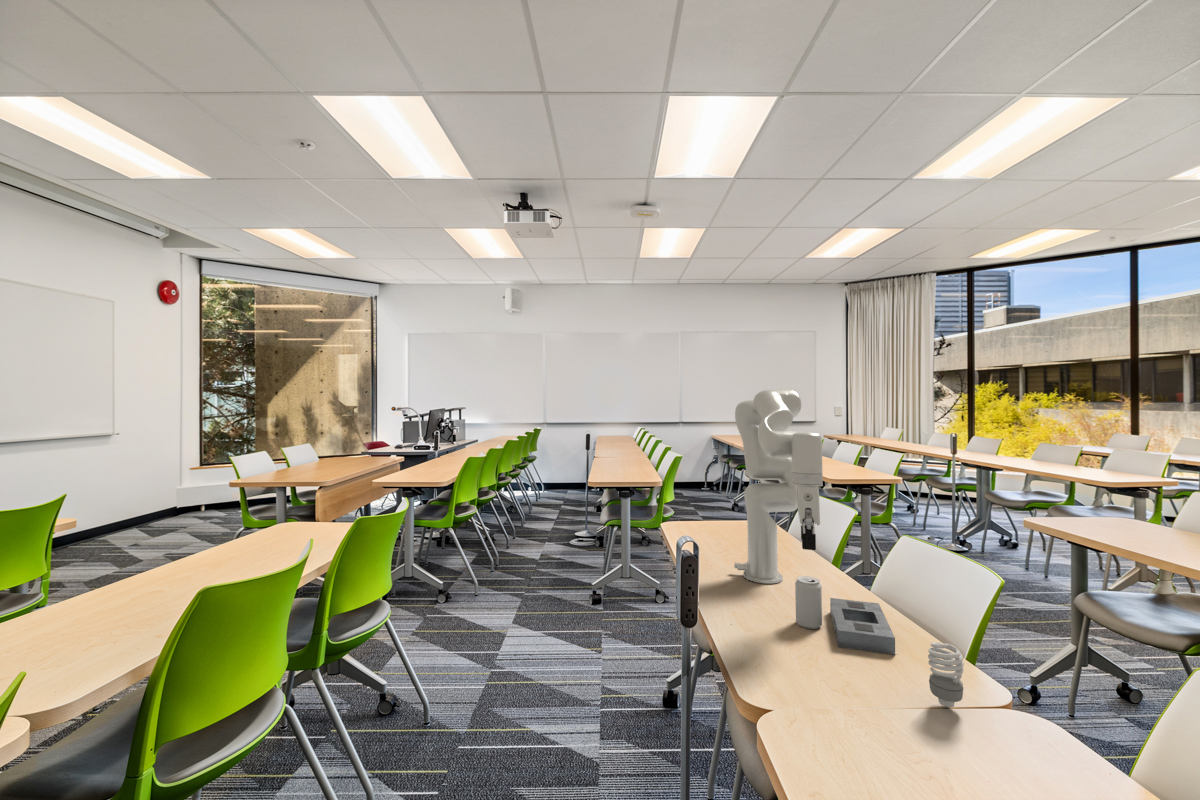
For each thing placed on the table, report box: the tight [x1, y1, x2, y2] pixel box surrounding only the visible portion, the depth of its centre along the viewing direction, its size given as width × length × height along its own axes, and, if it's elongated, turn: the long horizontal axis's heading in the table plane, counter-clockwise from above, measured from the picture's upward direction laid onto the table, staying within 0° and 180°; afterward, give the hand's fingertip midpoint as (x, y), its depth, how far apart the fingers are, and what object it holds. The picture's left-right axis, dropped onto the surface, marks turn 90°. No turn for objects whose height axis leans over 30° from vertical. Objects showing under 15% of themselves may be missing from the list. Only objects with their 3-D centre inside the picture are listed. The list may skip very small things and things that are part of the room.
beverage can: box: [794, 575, 823, 630], centre depth 134 cm, size 6×6×12 cm
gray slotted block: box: [829, 597, 896, 656], centre depth 129 cm, size 12×22×4 cm, turn 160°
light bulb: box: [927, 641, 965, 709], centre depth 97 cm, size 6×6×12 cm
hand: (808, 544), depth 134 cm, fingers open, 9 cm apart
